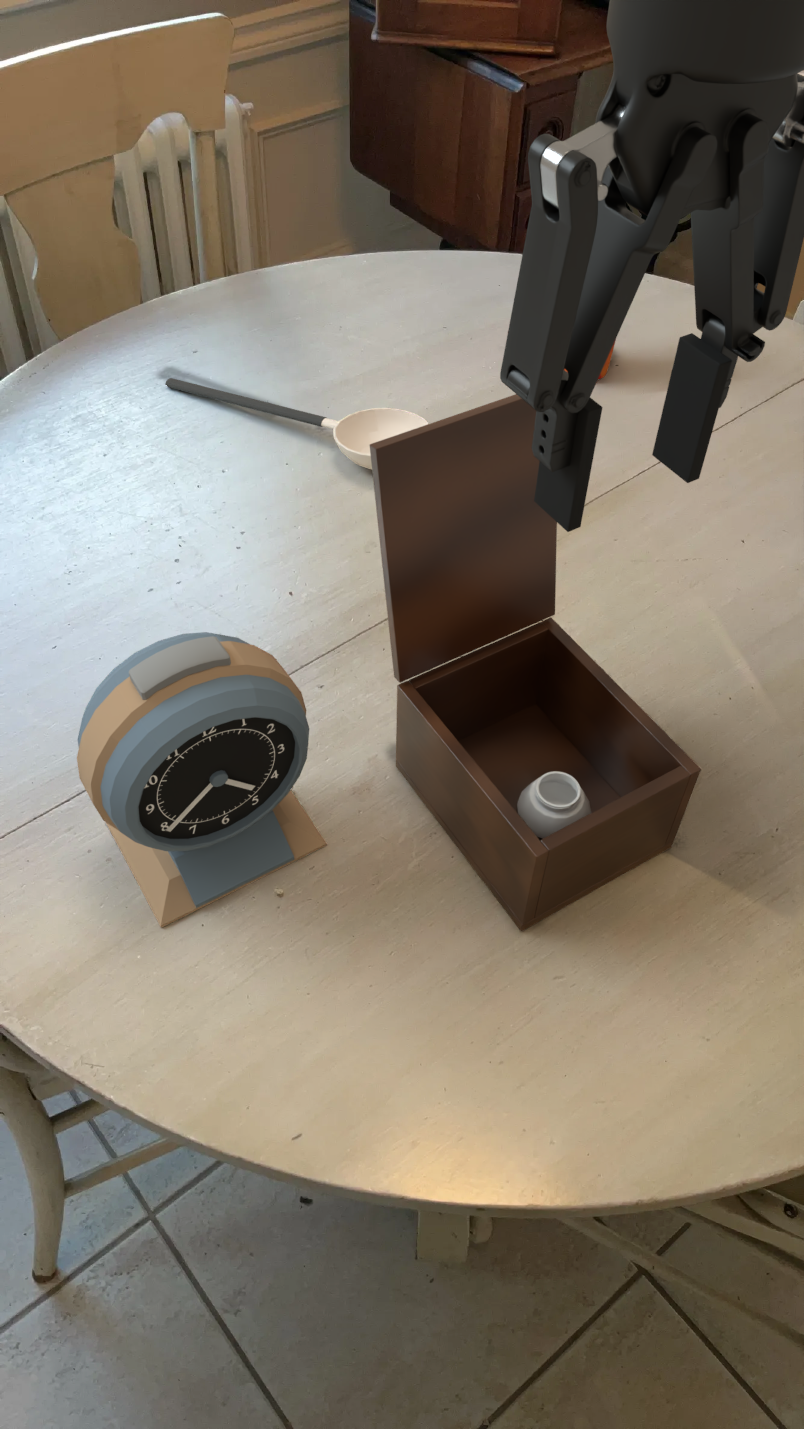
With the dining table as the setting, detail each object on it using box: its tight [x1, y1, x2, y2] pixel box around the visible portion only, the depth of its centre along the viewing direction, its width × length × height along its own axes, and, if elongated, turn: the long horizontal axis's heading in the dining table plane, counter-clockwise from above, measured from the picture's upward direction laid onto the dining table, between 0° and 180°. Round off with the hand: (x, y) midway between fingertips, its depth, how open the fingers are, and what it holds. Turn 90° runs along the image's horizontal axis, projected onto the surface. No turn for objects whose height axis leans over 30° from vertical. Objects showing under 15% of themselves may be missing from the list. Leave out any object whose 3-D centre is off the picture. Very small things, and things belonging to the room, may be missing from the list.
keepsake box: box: [395, 616, 702, 933], centre depth 71 cm, size 16×13×9 cm
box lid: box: [370, 393, 558, 684], centre depth 67 cm, size 17×13×1 cm
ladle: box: [164, 377, 430, 470], centre depth 103 cm, size 8×31×4 cm, turn 60°
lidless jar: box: [517, 771, 591, 838], centre depth 72 cm, size 5×3×5 cm
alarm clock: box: [76, 631, 328, 929], centre depth 66 cm, size 14×10×18 cm
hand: (617, 489), depth 52 cm, fingers open, 7 cm apart
